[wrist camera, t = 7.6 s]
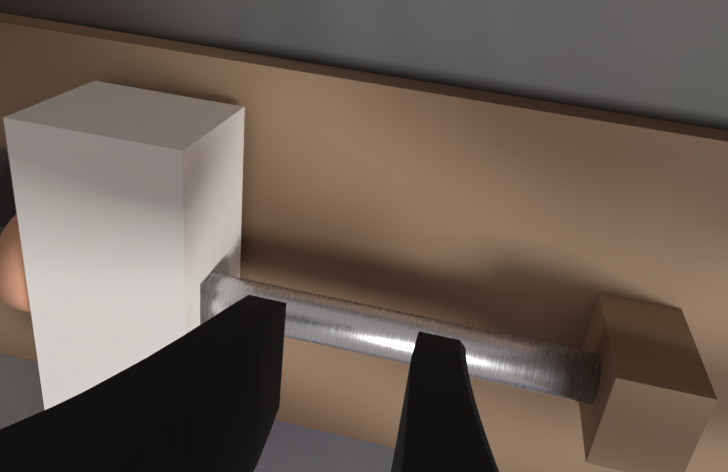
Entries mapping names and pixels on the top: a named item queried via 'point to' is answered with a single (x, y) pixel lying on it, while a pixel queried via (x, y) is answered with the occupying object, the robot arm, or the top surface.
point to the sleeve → (121, 223)
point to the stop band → (13, 269)
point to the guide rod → (399, 333)
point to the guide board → (455, 238)
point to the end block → (5, 191)
